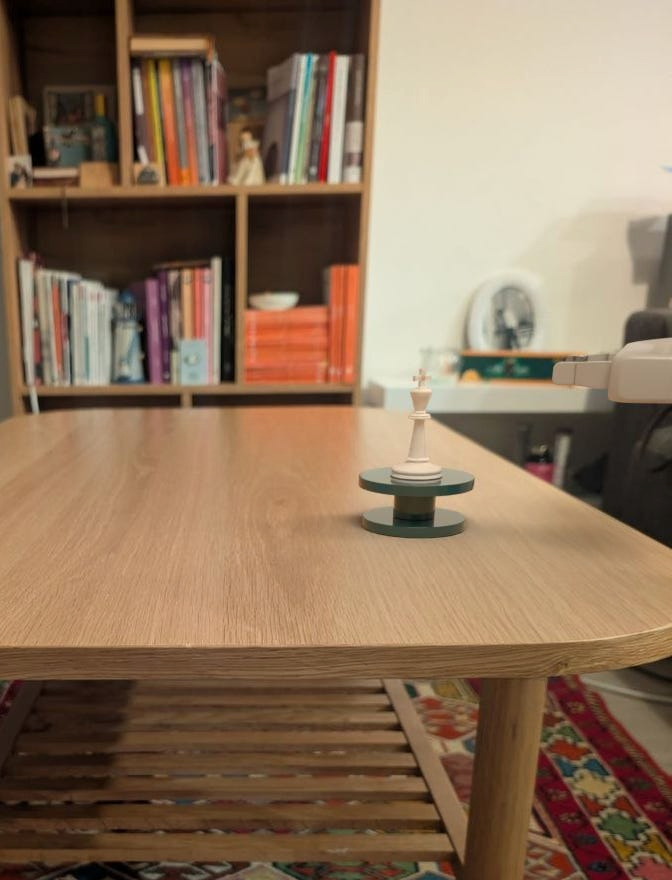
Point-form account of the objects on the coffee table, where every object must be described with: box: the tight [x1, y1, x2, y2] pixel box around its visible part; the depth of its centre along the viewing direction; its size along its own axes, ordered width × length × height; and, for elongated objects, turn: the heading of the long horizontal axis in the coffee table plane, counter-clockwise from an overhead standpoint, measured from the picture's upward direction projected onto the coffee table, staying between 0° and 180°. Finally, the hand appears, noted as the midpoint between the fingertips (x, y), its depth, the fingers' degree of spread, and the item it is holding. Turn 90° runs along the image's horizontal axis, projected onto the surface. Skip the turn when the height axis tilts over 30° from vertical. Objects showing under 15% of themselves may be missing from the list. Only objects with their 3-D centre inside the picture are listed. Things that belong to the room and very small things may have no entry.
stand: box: [357, 466, 476, 539], centre depth 93 cm, size 11×11×5 cm
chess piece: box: [390, 368, 443, 480], centre depth 90 cm, size 5×5×10 cm
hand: (559, 368), depth 84 cm, fingers open, 8 cm apart
